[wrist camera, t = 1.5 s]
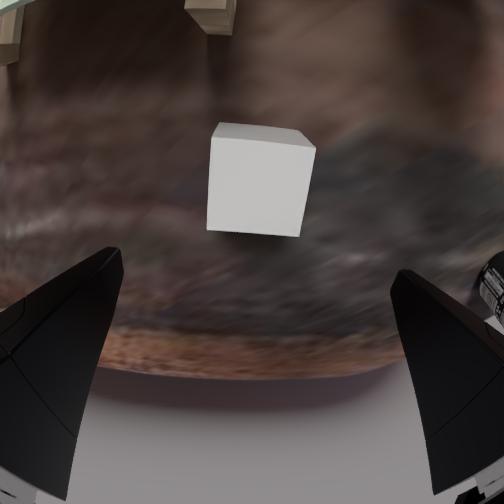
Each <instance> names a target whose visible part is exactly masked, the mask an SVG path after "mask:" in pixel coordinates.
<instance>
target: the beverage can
mask: <svg viewBox="0 0 504 504" xmlns="http://www.w3.org/2000/svg"><path fill="white" fill-rule="evenodd" d="M479 293H480V295H481V297H482V298H483V300H484V301H485V302H486V304H487V305H488V306H489V308H490V309H491V311H492V312H493V313H494V315H495V316H496V318H497V319H498V321H499V322H500V323H501V325H502V326H503V328H504V251H502V252H500V253H498V254H496V255H495V256H494V257H493V258H492V259H491V260H490V261H489V262H488V263H487V265H486V266H485V268H484V269H483V271H482V274H481V276H480V281H479Z"/></svg>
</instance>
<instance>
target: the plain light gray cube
mask: <svg viewBox="0 0 504 504" xmlns="http://www.w3.org/2000/svg"><path fill="white" fill-rule="evenodd" d="M315 151H316V148H315V147H314V146H313V145H312V143H311V142H310V141H309V140H308V139H307V138H306V137H305V136H304V135H303V134H301V133H300V132H299V131H298V130H291V129H284V128H275V127H267V126H257V125H247V124H235V123H222V122H219V124H218V126H217V128H216V130H215V132H214V134H213V136H212V140H211V155H210V171H209V189H208V210H207V230H218V231H231V232H245V233H257V234H270V235H282V236H294V237H299V234H300V229H301V224H302V219H303V214H304V209H305V204H306V199H307V194H308V189H309V184H310V178H311V173H312V168H313V162H314V157H315Z"/></svg>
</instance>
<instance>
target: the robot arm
mask: <svg viewBox="0 0 504 504" xmlns="http://www.w3.org/2000/svg"><path fill="white" fill-rule="evenodd" d="M123 275H124V269H123V263H122V256H121V251H120V249H119V248H117V247H106V248H104V249H102V250H101V251H99V252H97V253H95V254H94V255H92V256H90V257H88V258H87V259H85V260H83V261H82V262H80V263H78V264H76V265H75V266H73V267H71V268H70V269H68V270H66V271H65V272H63V273H62V274H60V275H58V276H57V277H55V278H53V279H52V280H50V281H49V282H47V283H45V284H44V285H42V286H41V287H39V288H38V289H36V290H34V291H33V292H31V293H30V294H28V295H27V296H26V298H25V297H24V298H22V299H21V300H19V301H18V302H16V303H15V304H13V305H11V306H10V307H8V308H7V309H5V310H4V311H2V312H0V504H35V499H36V493H37V490H39V491H42V492H44V493H46V494H49V495H51V496H53V497H56V498H58V499H61V500H63V501H66V497H67V491H68V485H69V479H70V473H71V467H72V462H73V457H74V452H75V447H76V443H77V437H78V433H79V429H80V425H81V421H82V417H83V413H84V409H85V405H86V401H87V397H88V394H89V390H90V387H91V384H92V380H93V377H94V373H95V370H96V367H97V364H98V360H99V357H100V354H101V351H102V348H103V345H104V342H105V339H106V336H107V333H108V330H109V328H110V325H111V322H112V319H113V315H114V311H115V307H116V303H117V299H118V295H119V291H120V287H121V284H122V280H123ZM390 296H391V300H392V304H393V309H394V313H395V318H396V323H397V327H398V332H399V335H400V339H401V342H402V346H403V349H404V352H405V356H406V359H407V363H408V367H409V370H410V374H411V378H412V382H413V386H414V390H415V394H416V398H417V403H418V407H419V411H420V416H421V421H422V426H423V431H424V436H425V440H426V441H425V442H426V448H427V454H428V460H429V466H430V474H431V481H432V489H433V494H434V495H437V494H439V493H441V492H444V491H446V490H448V489H450V488H452V487H455V486H456V485H459V484H461V483H463V482H465V481H467V480H469V479H471V478H473V477H475V479H476V483H477V486H475V487H473V488H472V489H470V490H468V491H466V492H464V493H462V494H460V495H458V497H457V499H456V502H455V504H504V335H503V334H501V333H500V332H499V331H497V330H496V329H494V328H493V327H492V326H491V325H489V324H488V323H487V322H484V320H482V319H481V318H480V317H478V316H477V315H476V314H474V313H473V312H472V311H470V310H469V309H467V308H466V307H465V306H463V305H462V304H460V303H459V302H458V301H456V300H455V299H453V298H452V297H450V296H449V295H448V294H446V293H445V292H443V291H442V290H440V289H439V288H437V287H436V286H434V285H433V284H431V283H430V282H428V281H427V280H425V279H424V278H422V277H421V276H419V275H418V274H416V273H415V272H413V271H412V270H407V269H401V270H400V271H399V272H398V273H397V276H396V278H395V280H394V282H393V285H392V287H391V290H390Z"/></svg>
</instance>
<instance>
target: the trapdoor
mask: <svg viewBox="0 0 504 504" xmlns="http://www.w3.org/2000/svg"><path fill="white" fill-rule="evenodd" d="M33 1H35V0H0V16H1V15H3V14H5V13H7V12H9V11H12V10H14V9H16V8H18V7H21V6H23V5H25V4H28V3H30V2H33Z"/></svg>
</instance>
